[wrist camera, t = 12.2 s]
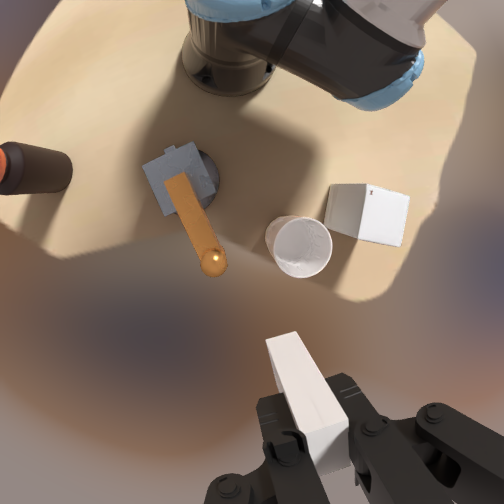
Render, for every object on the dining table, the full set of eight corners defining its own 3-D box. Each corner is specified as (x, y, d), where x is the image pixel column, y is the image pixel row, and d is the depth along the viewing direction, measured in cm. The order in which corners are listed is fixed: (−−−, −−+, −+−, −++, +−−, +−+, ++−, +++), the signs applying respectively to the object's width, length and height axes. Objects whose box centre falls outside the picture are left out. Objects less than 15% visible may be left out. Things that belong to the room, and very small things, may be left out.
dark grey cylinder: (147, 158, 44) (133, 151, 35) (210, 142, 45) (210, 130, 36) (162, 221, 46) (151, 228, 37) (225, 205, 47) (228, 208, 38)
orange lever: (196, 262, 45) (190, 289, 32) (148, 158, 41) (124, 147, 29) (238, 242, 45) (248, 262, 33) (191, 138, 41) (183, 117, 29)
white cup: (316, 221, 49) (340, 228, 39) (299, 267, 50) (319, 285, 40) (270, 204, 48) (285, 208, 38) (254, 252, 49) (264, 268, 39)
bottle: (46, 198, 42) (-30, 206, 23) (37, 161, 41) (-39, 153, 21) (77, 183, 43) (6, 182, 23) (68, 145, 41) (-3, 125, 22)
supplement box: (321, 227, 49) (355, 239, 37) (330, 182, 48) (366, 181, 36) (360, 235, 50) (401, 249, 38) (368, 192, 49) (411, 195, 37)
